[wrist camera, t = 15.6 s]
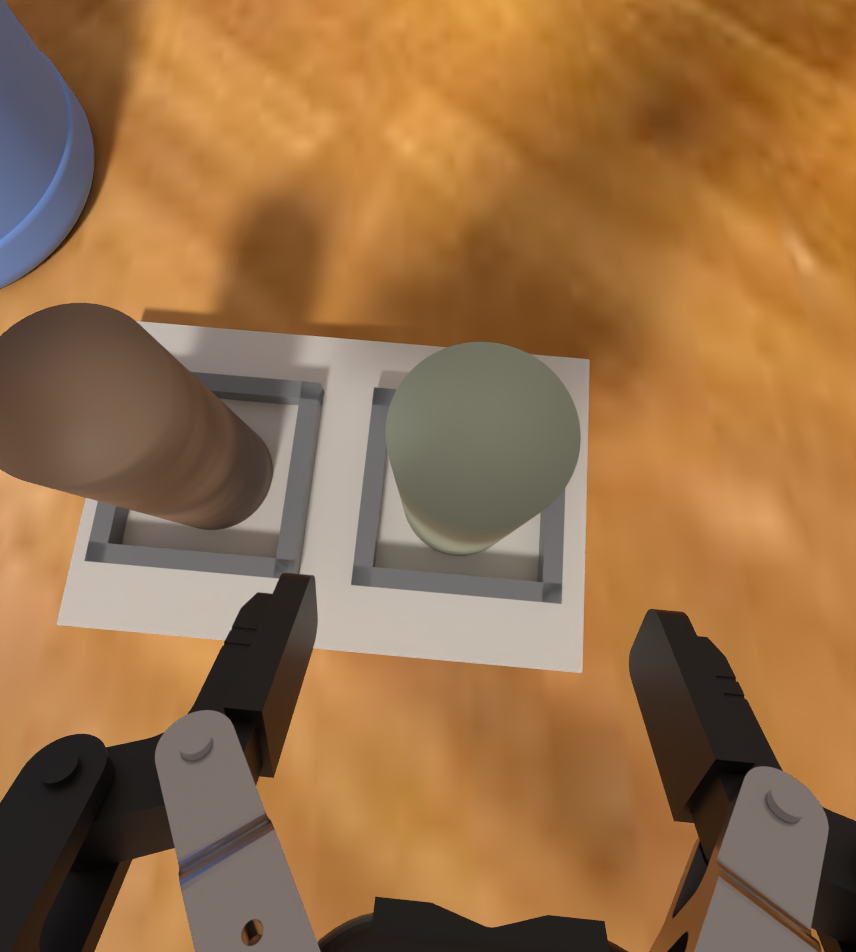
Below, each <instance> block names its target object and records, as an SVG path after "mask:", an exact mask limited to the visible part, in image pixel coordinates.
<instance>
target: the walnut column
mask: <svg viewBox="0 0 856 952" xmlns="http://www.w3.org/2000/svg"><path fill="white" fill-rule="evenodd" d="M0 469H1V470H2V471H4V472H6V473H8V474H9V475H11V476H13V477H16V478H18V479H21V480H23V481H27V482H31V483H34V484H38V485H41V486H45V487H49V488H52V489H56V490H60V491H63V492H67V493H71V494H74V495H78V496H82V497H85V498H89V499H93V500H96V501H100V502H103V503H107V504H111V505H114V506H118V507H122V508H125V509H129V510H133V511H136V512H140V513H144V514H147V515H151V516H155V517H158V518H162V519H165V520H169V521H173V522H176V523H180V524H184V525H187V526H191V527H195V528H199V529H204V530H219V529H225V528H229V527H232V526H234V525H237V524H239V523H241V522H242V521H244V520H246V519H247V518H248V517H250V516H251V515H252V514H253V513H254V512H255V511H256V510H257V509H258V508H259V507H260V506H261V504H262V503H263V501H264V500H265V498H266V496H267V494H268V492H269V489H270V486H271V482H272V477H273V466H272V459H271V455H270V453H269V450H268V448H267V446H266V445H265V443H264V442H263V440H262V439H261V438H260V437H259V436H258V435H257V434H256V433H255V432H254V431H253V430H252V429H251V428H250V427H249V426H248V425H247V424H246V423H245V422H244V421H242V420H241V419H240V418H239V417H238V416H237V415H236V414H235V413H234V412H233V411H232V410H231V409H230V408H229V407H227V406H226V405H225V404H224V403H223V402H222V401H221V400H220V399H219V398H218V397H217V396H216V395H215V394H214V393H212V392H211V391H210V390H209V389H208V388H207V387H206V386H205V385H204V384H203V383H202V382H201V381H200V380H199V379H197V378H196V377H195V376H194V375H193V374H192V373H191V372H190V371H189V370H188V369H187V368H186V367H185V366H184V365H183V364H181V363H180V362H179V361H178V360H177V359H176V358H175V357H174V356H173V355H172V354H171V353H170V352H169V351H168V350H166V349H165V348H164V347H163V346H162V345H161V344H160V343H159V342H158V341H157V340H156V339H155V338H154V337H153V336H151V335H150V334H149V333H148V332H147V331H146V330H145V329H144V328H143V327H142V326H141V325H140V324H139V323H137V322H136V321H135V320H133V319H132V318H131V317H129V316H127V315H126V314H124V313H122V312H120V311H118V310H115V309H113V308H110V307H107V306H102V305H98V304H90V303H70V304H62V305H57V306H53V307H49V308H46V309H43V310H41V311H38V312H36V313H34V314H32V315H29V316H27V317H25V318H24V319H22V320H21V321H19V322H17V323H16V324H14V325H13V326H12V327H10V328H9V329H8V330H7V331H6V332H4V333H3V334H2V335H1V336H0Z"/></svg>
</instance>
